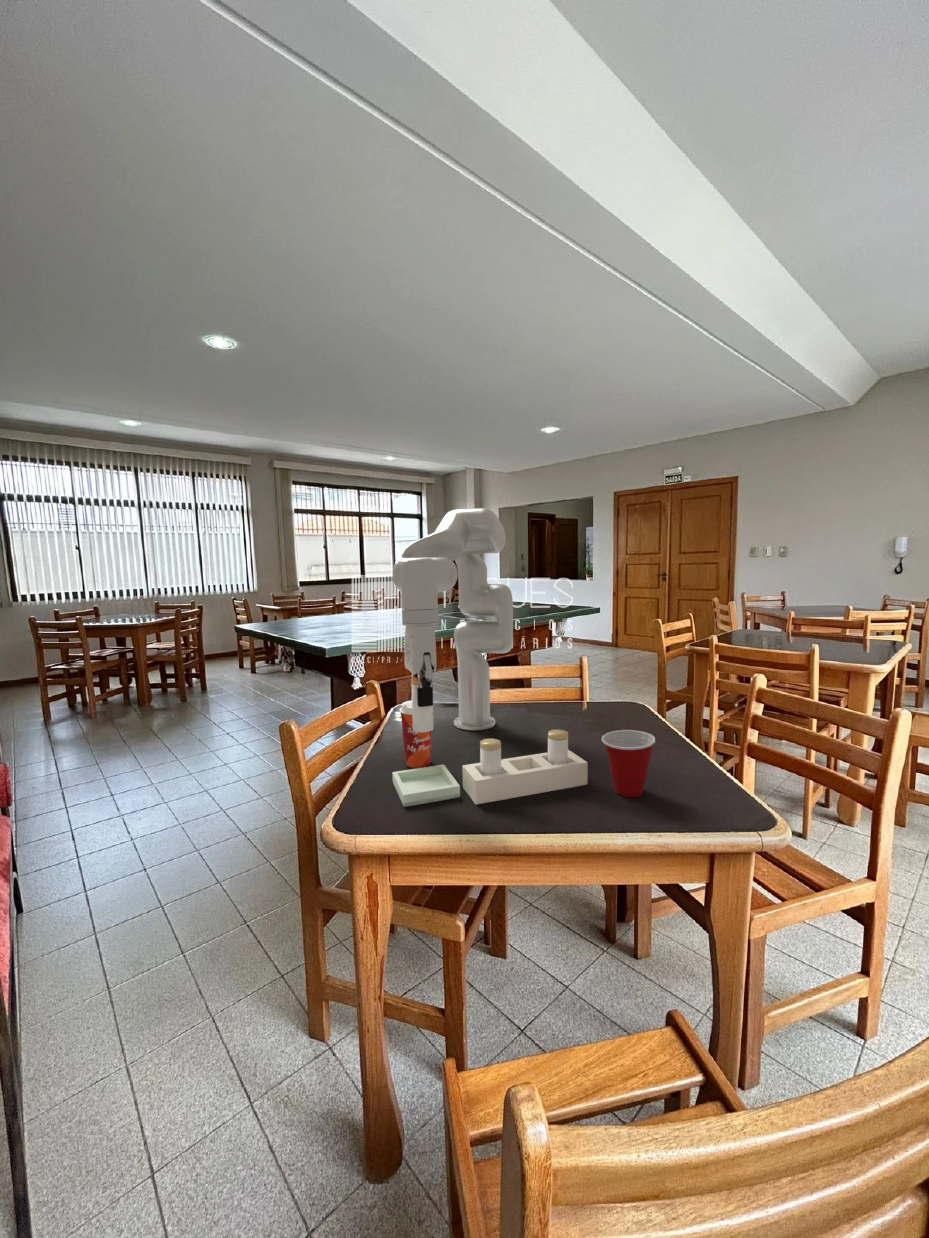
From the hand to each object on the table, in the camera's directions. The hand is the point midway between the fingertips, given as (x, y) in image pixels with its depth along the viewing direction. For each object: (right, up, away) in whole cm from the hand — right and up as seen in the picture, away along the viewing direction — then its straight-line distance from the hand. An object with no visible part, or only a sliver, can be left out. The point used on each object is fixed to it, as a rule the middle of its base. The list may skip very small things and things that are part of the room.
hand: (422, 702), depth 107 cm
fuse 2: (+30, -18, +6) cm, 36 cm away
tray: (0, -19, +2) cm, 20 cm away
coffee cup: (-2, -18, +17) cm, 25 cm away
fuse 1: (+15, -19, +1) cm, 24 cm away
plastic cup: (+43, -19, 0) cm, 47 cm away
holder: (+22, -19, +3) cm, 29 cm away
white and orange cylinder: (0, -6, +1) cm, 6 cm away
